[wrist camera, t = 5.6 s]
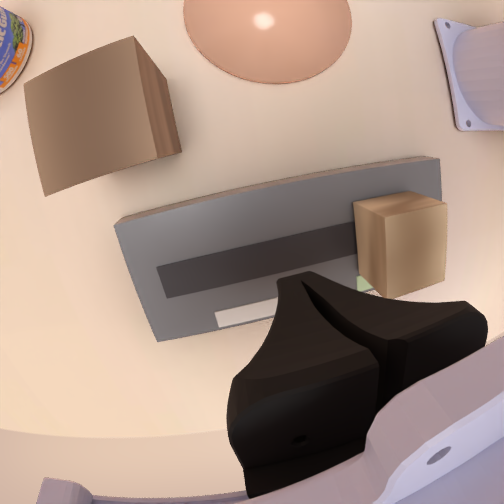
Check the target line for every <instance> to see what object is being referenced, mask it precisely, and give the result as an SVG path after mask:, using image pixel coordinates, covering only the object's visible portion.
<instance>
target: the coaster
mask: <svg viewBox="0 0 504 504" xmlns="http://www.w3.org/2000/svg"><path fill="white" fill-rule="evenodd" d="M184 20H185V24H186V28H187V31H188V34H189V36H190V38H191V40H192V42H193V43H194V45H195V46H196V48H197V49H198V50H199V51H200V52H201V53H202V54H203V56H204V57H206V58H207V59H208V60H209V61H210V62H211V63H213V64H214V65H216V66H217V67H219V68H220V69H222V70H224V71H226V72H228V73H230V74H232V75H234V76H237V77H240V78H242V79H246V80H250V81H254V82H260V83H271V84H281V83H291V82H296V81H301V80H304V79H307V78H310V77H312V76H314V75H316V74H318V73H320V72H322V71H323V70H325V69H327V68H328V67H329V66H331V65H332V64H333V63H334V62H335V61H336V60H337V59H338V58H339V57H340V56H341V54H342V53H343V51H344V50H345V48H346V46H347V44H348V41H349V38H350V34H351V27H352V20H351V12H350V8H349V5H348V2H347V0H185V1H184Z"/></svg>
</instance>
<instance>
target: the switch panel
mask: <svg viewBox="0 0 504 504" xmlns="http://www.w3.org/2000/svg"><path fill="white" fill-rule="evenodd" d="M407 191H412V192H415V193H418V194H421V195H424V196H427V197H430V198H433V199H436V200H439V201H442V191H441V172H440V159H439V158H433V157H426V156H423V157H415V158H407V159H399V160H392V161H385V162H378V163H371V164H365V165H359V166H352V167H346V168H340V169H334V170H328V171H323V172H317V173H312V174H306V175H301V176H296V177H291V178H286V179H281V180H276V181H271V182H266V183H261V184H256V185H252V186H247V187H242V188H238V189H233V190H229V191H225V192H220V193H216V194H212V195H208V196H203V197H199V198H195V199H191V200H187V201H183V202H179V203H175V204H171V205H168V206H164V207H160V208H156V209H152V210H149V211H145V212H141V213H138V214H134V215H131V216H127V217H124V218H121V219H120V220H119V221H118V222H117V223H116V224H115V225H114V228H115V231H116V234H117V237H118V240H119V244H120V247H121V250H122V253H123V255H124V258H125V261H126V264H127V267H128V270H129V273H130V275H131V278H132V281H133V283H134V286H135V289H136V291H137V294H138V297H139V299H140V302H141V304H142V307H143V309H144V312H145V314H146V317H147V319H148V321H149V324H150V326H151V329H152V331H153V333H154V336H155V338H156V340H157V342H161V341H166V340H172V339H177V338H182V337H187V336H192V335H197V334H202V333H207V332H212V331H216V330H221V329H226V328H230V327H235V326H239V325H243V324H248V323H252V322H256V321H261V320H265V319H269V318H273V317H274V316H275V312H276V308H277V303H278V289H277V284H276V281H277V280H278V279H279V278H283V277H287V276H291V275H295V274H299V273H303V272H306V271H312V272H315V273H317V274H319V275H321V276H324V277H326V278H328V279H330V280H332V281H335V282H337V283H339V284H342V285H344V286H347V287H349V288H352V289H355V290H358V291H361V292H364V293H365V292H368V291H371V290H375V289H374V288H373V287H372V286H371V285H370V284H369V283H368V282H367V281H366V280H365V279H364V278H363V277H362V276H361V275H360V274H359V267H358V252H357V239H356V227H355V217H354V207H353V202H356V201H361V200H366V199H371V198H376V197H381V196H386V195H391V194H396V193H402V192H407Z"/></svg>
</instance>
